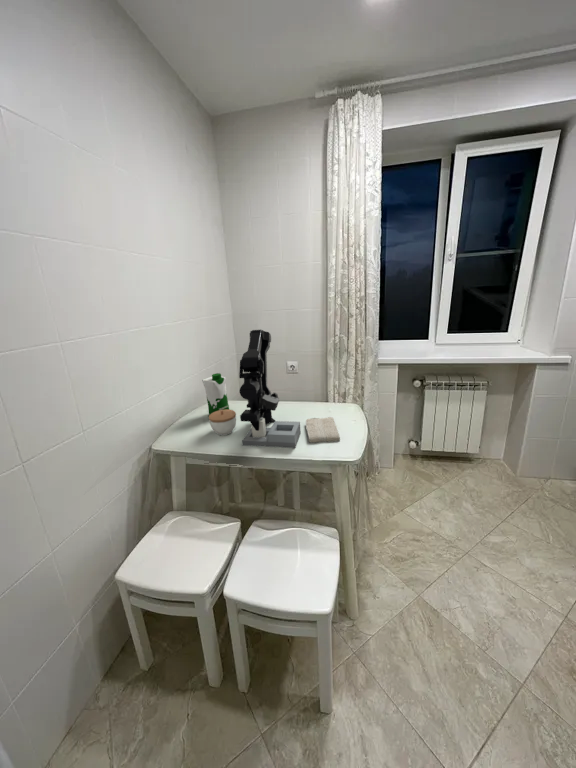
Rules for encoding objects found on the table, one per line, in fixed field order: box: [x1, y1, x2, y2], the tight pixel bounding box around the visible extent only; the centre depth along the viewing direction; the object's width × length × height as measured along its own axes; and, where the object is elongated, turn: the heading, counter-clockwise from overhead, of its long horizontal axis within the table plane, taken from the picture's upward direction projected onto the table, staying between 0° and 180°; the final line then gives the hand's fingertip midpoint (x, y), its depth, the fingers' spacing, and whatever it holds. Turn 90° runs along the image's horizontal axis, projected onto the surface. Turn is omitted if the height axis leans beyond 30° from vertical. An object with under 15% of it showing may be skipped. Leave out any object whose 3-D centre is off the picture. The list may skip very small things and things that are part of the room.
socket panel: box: [241, 420, 302, 449], centre depth 111 cm, size 20×11×5 cm, turn 78°
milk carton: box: [202, 372, 230, 416], centre depth 135 cm, size 9×9×20 cm
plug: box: [250, 417, 267, 438], centre depth 111 cm, size 4×3×7 cm, turn 78°
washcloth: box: [305, 416, 341, 443], centre depth 115 cm, size 12×18×3 cm, turn 1°
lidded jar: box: [208, 409, 237, 436], centre depth 119 cm, size 11×11×9 cm
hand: (258, 428), depth 112 cm, fingers closed on plug, 3 cm apart
